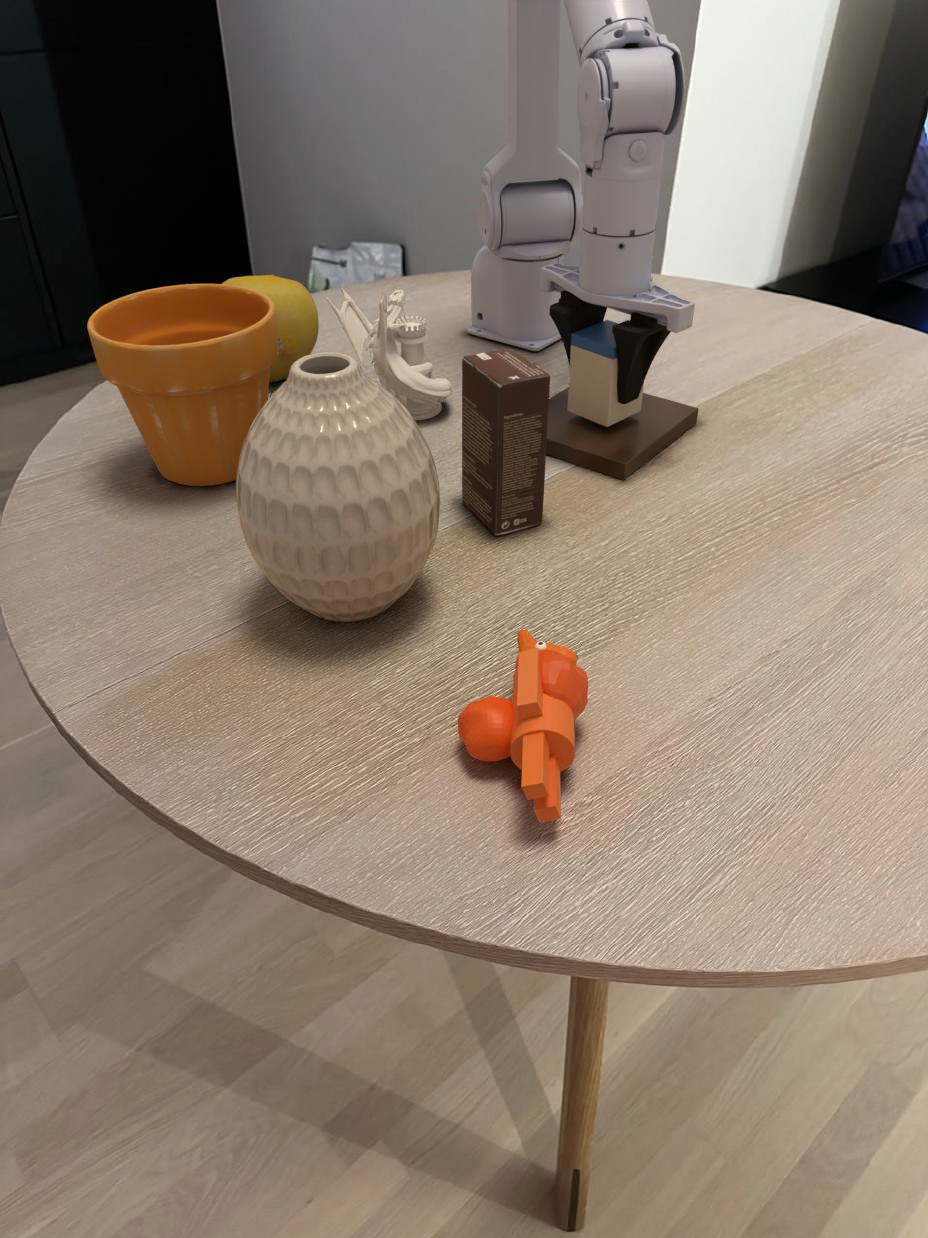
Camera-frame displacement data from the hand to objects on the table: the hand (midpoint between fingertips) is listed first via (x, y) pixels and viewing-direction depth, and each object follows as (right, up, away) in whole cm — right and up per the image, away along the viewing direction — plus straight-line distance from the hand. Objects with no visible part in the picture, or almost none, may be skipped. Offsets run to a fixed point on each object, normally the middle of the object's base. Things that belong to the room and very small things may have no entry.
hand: (605, 391), depth 81 cm
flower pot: (-34, -6, -1) cm, 35 cm away
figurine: (-19, 0, +7) cm, 20 cm away
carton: (0, -1, +1) cm, 2 cm away
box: (-9, -12, -8) cm, 17 cm away
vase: (-20, -18, -16) cm, 32 cm away
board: (0, -3, +2) cm, 4 cm away
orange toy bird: (-9, -27, -28) cm, 40 cm away
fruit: (-32, +5, +14) cm, 35 cm away
